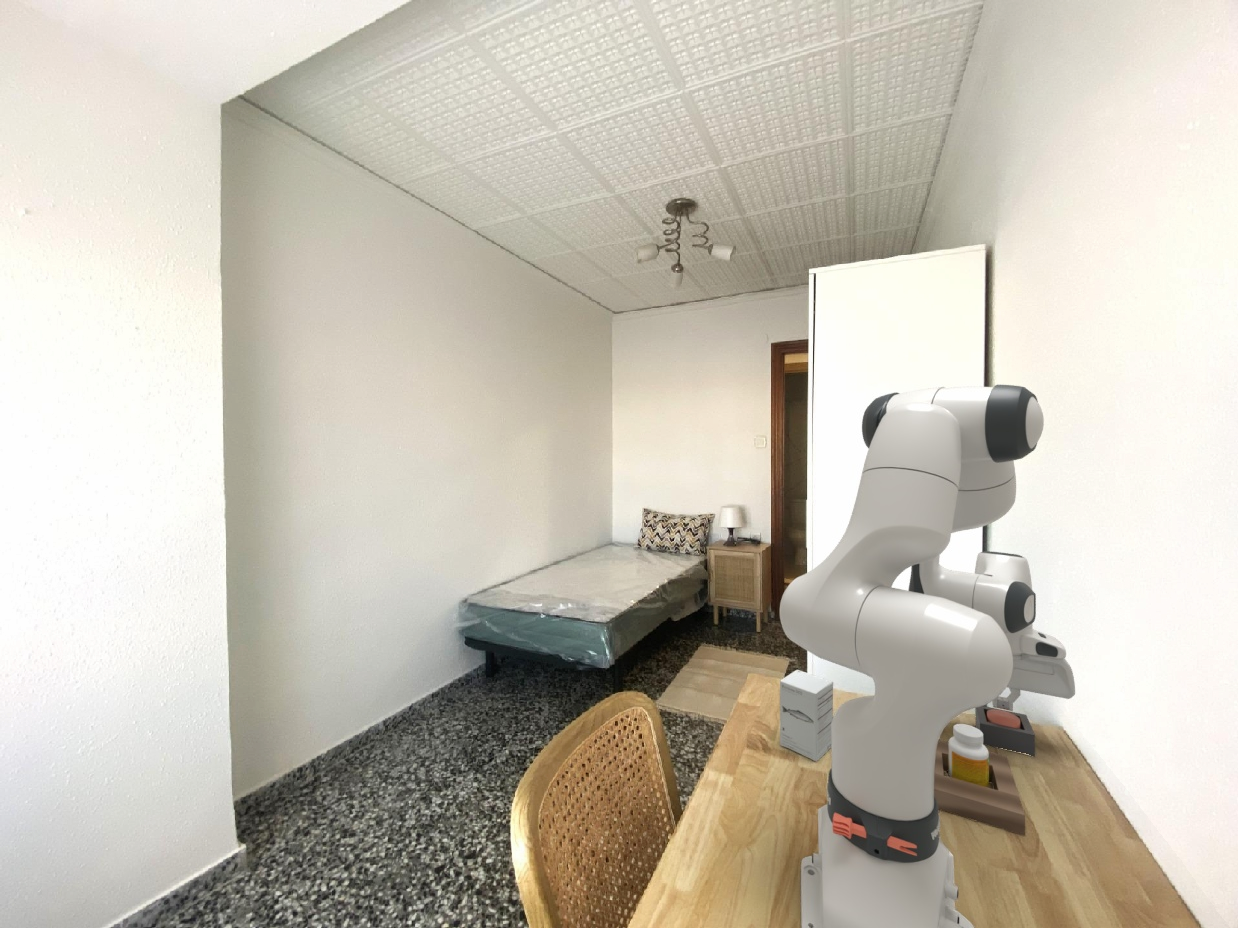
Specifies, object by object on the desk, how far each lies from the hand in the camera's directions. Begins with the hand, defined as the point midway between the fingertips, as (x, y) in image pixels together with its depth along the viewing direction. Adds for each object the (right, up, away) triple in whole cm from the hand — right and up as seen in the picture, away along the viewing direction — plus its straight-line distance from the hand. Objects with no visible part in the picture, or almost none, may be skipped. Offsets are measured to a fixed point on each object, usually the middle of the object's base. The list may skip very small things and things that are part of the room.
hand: (1002, 707), depth 92 cm
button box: (0, -6, 0) cm, 6 cm away
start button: (0, -5, 0) cm, 5 cm away
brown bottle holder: (-16, -7, -13) cm, 22 cm away
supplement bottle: (-16, -7, -13) cm, 22 cm away
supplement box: (-38, -7, -1) cm, 39 cm away
